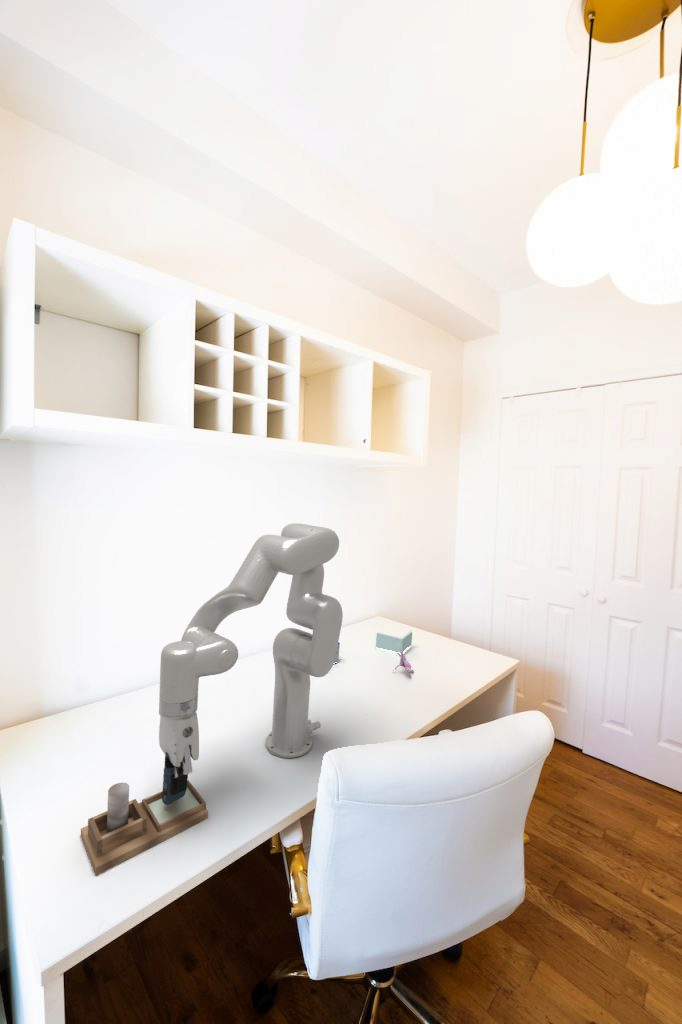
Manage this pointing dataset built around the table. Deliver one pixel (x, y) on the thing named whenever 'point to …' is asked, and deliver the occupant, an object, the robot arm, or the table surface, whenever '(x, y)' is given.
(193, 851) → the table surface
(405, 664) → the lily
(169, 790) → the vaping device
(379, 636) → the right angle wall
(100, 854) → the holder
